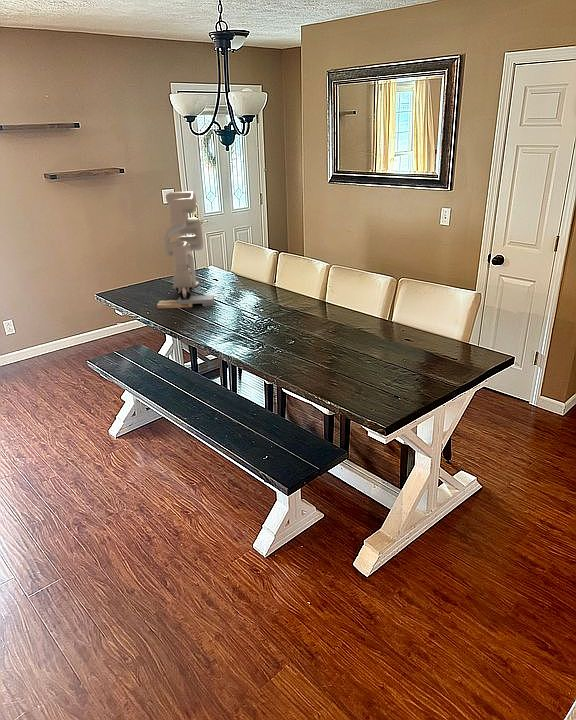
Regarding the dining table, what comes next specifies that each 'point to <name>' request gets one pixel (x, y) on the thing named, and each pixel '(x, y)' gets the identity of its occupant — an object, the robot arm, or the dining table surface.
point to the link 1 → (171, 304)
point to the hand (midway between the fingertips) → (185, 298)
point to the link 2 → (198, 300)
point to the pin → (184, 293)
